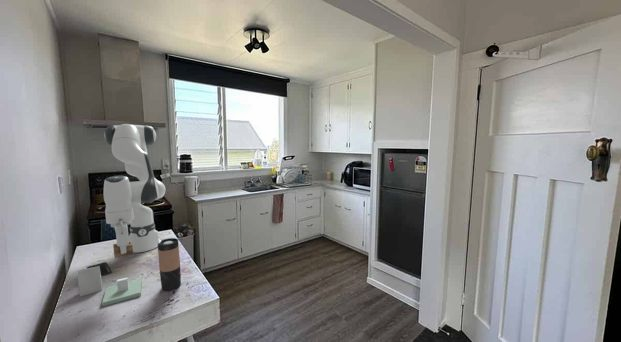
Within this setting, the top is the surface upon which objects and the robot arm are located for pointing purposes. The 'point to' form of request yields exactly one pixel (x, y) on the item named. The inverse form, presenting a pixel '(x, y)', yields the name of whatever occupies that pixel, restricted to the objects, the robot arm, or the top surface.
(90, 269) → the white boxy piece
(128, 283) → the base
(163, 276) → the travel mug
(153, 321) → the top surface
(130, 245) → the open wooden frame
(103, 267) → the phone
